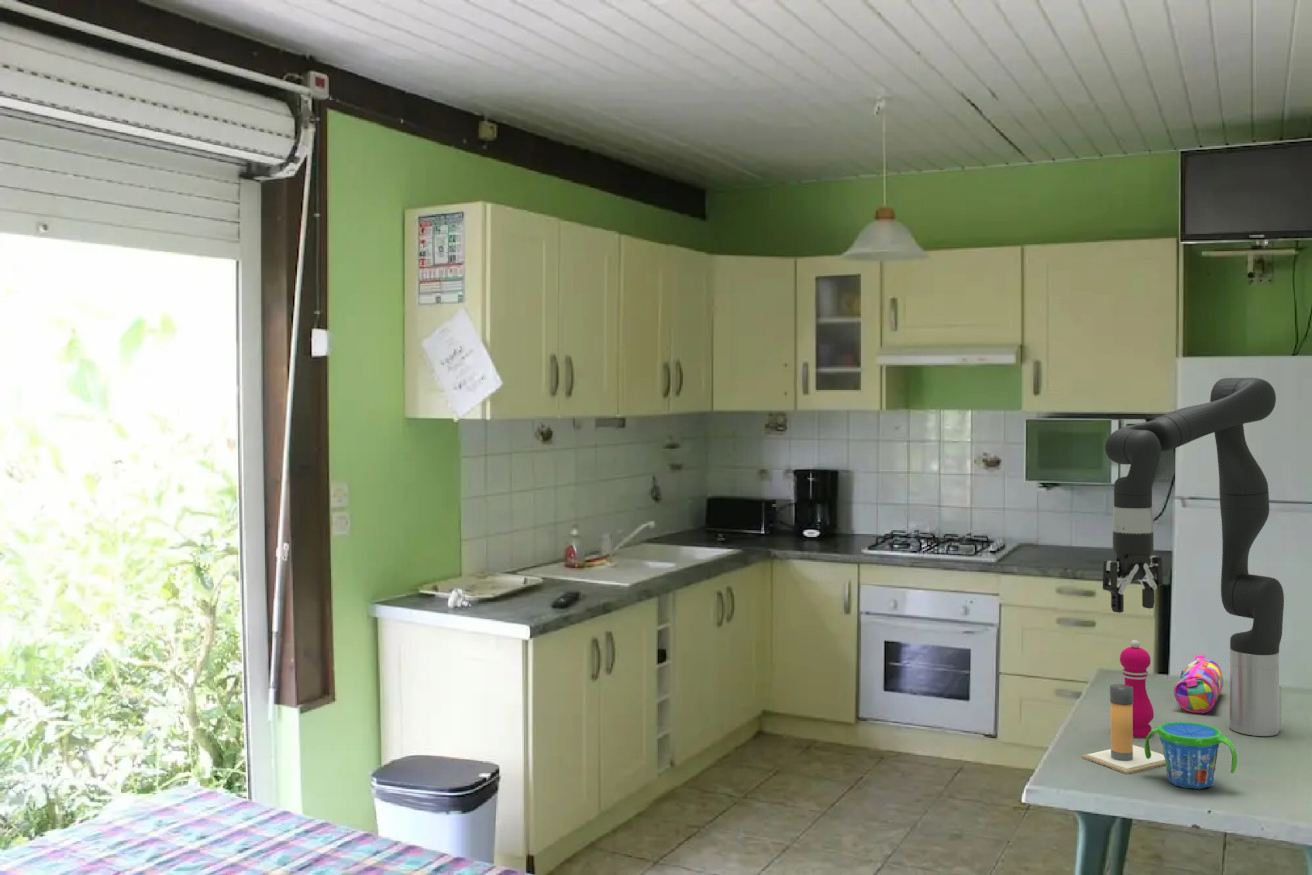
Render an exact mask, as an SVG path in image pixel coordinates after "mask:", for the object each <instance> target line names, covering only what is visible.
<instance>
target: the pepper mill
mask: <svg viewBox="0 0 1312 875" xmlns="http://www.w3.org/2000/svg"><path fill="white" fill-rule="evenodd" d="M1140 645H1141V644H1140V642H1139V641H1138V640H1137V639H1132V640H1131V642H1130V646H1129V647H1126V648H1124V649H1123V650H1122V651H1121V652H1120V656H1119V662H1120V664H1121V666H1122V668H1123V669H1122V670H1121V671H1122V676H1123V677H1124V685H1129V686H1132V687H1133V738H1147V736H1148V734H1149V733H1150V732H1151V731H1152V726H1151V724H1149V723H1151V722H1152V721H1153V719H1154V716H1155V714H1154V708H1153V705H1152V703H1151V700H1150V698H1149V696H1148V693H1147V688H1146V685H1147V684H1146V683H1147V682H1146V680H1147V679H1148V678H1149V676H1148V674H1149V671H1148V670H1147V669H1148V668H1149V667H1150V665H1151V660H1152V659H1151V656H1150V653H1149V652H1148V651H1147V650H1146V649H1144V648H1141V647H1140Z"/></svg>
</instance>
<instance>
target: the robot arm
mask: <svg viewBox="0 0 1312 875" xmlns="http://www.w3.org/2000/svg"><path fill="white" fill-rule="evenodd" d="M1276 396H1277V395H1276V391H1275V389H1274V386H1272V384H1271V383H1269V381H1267V380H1265V379H1262V378H1259V377H1225V378H1220V379H1219V380H1218V381H1216V382H1215V384H1214V385H1213V386H1212V389H1211V391H1210V399H1209V400H1210V401H1209V402H1204V403H1201V404H1195V405H1191V406H1186V407H1183V408H1179V409H1176V410H1173V411H1170V412H1168V413H1165V414H1163V415H1160V416H1158V417H1156V418H1154V419H1151V420H1150V421H1145V422H1140V423H1136V424H1131V425H1128V426H1123V427H1121V428H1118V429H1116V430H1115V431H1114V432H1112V433H1111V434H1110V435H1109V436H1108V437H1107V439H1106V440H1105V441H1106V442H1105V444H1104V451H1105V455H1106V456H1107V458H1108V459H1109V460H1110V461H1112V462H1113V463H1116V464H1118V465H1127V466H1129V465H1130V467H1129V470H1128V473H1127V475H1126V476H1122V477H1118V478H1117V479H1116V480H1115V481H1114V485H1113V513H1112V551H1113V553H1115V555H1116V558H1115V560H1108V559H1105V560H1104V561H1103V569H1102V572H1103V573H1102V590H1103V591H1107V592H1109V593H1110V603H1111V604H1110V608H1111V610H1112V612H1114V613H1118V614H1121V613H1123V612H1124V609H1125V608H1124V605H1125V604H1124V597H1125V596H1124V594H1123V593H1124V591H1125V589H1126V587H1127V586H1130V584H1131V582H1134V581H1136V580H1137V581H1138V582H1140V584H1141V586H1142V587H1143V588H1142V589H1141V590H1142V591H1141V592H1142V594H1141V604H1142V605H1141V606H1142V607H1143V608H1144V609H1145V608H1146V609H1153V608H1154V606H1155V598H1156V597H1155V590H1157V588H1158V587H1159V586H1160V587H1161V586H1163V584H1164V578H1163V577H1164V576H1163V557H1162V556H1158V555H1152V554H1153V553H1154V551H1155V550H1154V547H1155V546H1154V515H1153V514H1154V512H1153V484H1154V482H1155V478H1156V475H1157V470H1158V468H1159V463H1160V460H1161V456H1162V453H1163V452H1169V451H1171V450H1175V449H1177V448H1179V447H1181V446H1184V445H1186V444H1188V443H1190V442H1193V441H1195V440H1199V439H1200V438H1203V437H1205V436H1208V435H1210V434H1214V438H1215V446H1216V452H1217V466H1218V481H1219V482H1218V483H1219V484H1218V486H1219V488H1218V489H1219V490H1218V492H1219V493H1218V494H1219V509H1220V516H1221V517H1220V518H1221V538H1222V541H1221V542H1222V545H1221V546H1222V547H1221V548H1222V551H1221V552H1222V555H1221V556H1222V557H1221V574H1220V575H1221V577H1220V578H1221V579H1220V580H1221V581H1220V596H1221V603H1222V605H1223V608H1224V609H1225V611H1226V612H1227V613H1228V614H1230V615H1231V616H1232V615H1233V616H1237V617H1240V618H1241V617H1242V618H1247V619H1253V621H1252V627H1251V629H1250V630H1248V631H1243V632H1242V631H1241V632H1235V633H1234V634H1232V635H1231V636H1230V637H1229V638H1230V639H1229V728H1230V729H1231V730H1232V731H1233V732H1237V733H1240V734H1243V735H1247V736H1254V737H1255V736H1257V737H1272V736H1277V735H1278V734H1280V731H1282V686H1281V685H1280V644H1281V641H1282V635H1283V621H1284V606H1285V605H1284V604H1285V594H1284V589H1283V585H1282V584H1281V582H1280V581H1279V580H1278V579H1277V578H1274V577H1270V576H1265V575H1257V574H1250V573H1249V554H1250V551H1251V547H1252V545H1253V544H1254V542H1255V540H1256V538H1257V537H1258V536H1259V534H1260V532H1261V531H1262V529H1263V527H1265V524H1266V522H1267V520H1268V518H1269V515H1270V495H1269V494H1270V493H1269V484H1268V480H1267V477H1266V475H1265V474H1264V472H1263V470H1262V468H1261V467H1260V465H1259V464H1258V462H1257V461H1256V459H1255V457H1254V455H1253V454H1252V452H1251V451H1250V449H1249V447H1248V444H1247V441H1246V436H1245V429H1244V424H1245V425H1246V424H1248V423H1254V422H1260V421H1262V420H1265V419H1266V418H1268V417H1269V416H1270V415H1271V414H1272V413H1273V411H1274V409H1275V407H1276V401H1277V397H1276ZM1155 575H1156V578H1155Z"/></svg>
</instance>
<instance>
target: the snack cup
mask: <svg viewBox="0 0 1312 875" xmlns="http://www.w3.org/2000/svg"><path fill="white" fill-rule="evenodd" d="M1155 733H1157V734H1158V736H1159V739H1160V743H1161V745H1162V751H1163V755H1164V757H1165V763H1166V765H1165V769H1166V774H1167V777H1168V780H1169V781H1170V782H1171V783H1172V784H1173V785H1175V786H1178V787H1181V788H1184V789H1196V790H1199V789H1205V788H1206V787H1207V788H1209V787H1212V786H1213V783H1214V779H1215V778H1214V776H1215V771H1216V767H1217V760H1218V751H1219V746H1220V743H1222V744H1224V745H1225V746H1227V747H1228V748H1229V752H1230V754H1231V765H1230V766H1231V768H1230V773H1231V774H1234V773H1235V771H1236V768H1237V766H1238V754H1237V751H1236V748H1235V746H1234V744H1233V743H1232V742H1231V740H1230V739H1229V738H1228V737H1226V736H1224V735H1223V734H1222V731H1221V730H1220V729H1218V728H1217V727H1214V726H1211V725H1208V724H1204V723H1199V722H1191V721H1171V722H1165V723H1162V724H1161V725H1159V726H1157V727H1155V728H1153V729H1151V732H1150V733H1149V734H1148V736H1147V737H1145V740H1144V747H1143V748H1144V749H1145V755H1146V758H1147V759H1149V758H1150V757H1151V752H1150V751H1151V746H1150V739H1151V738H1152V736H1153V735H1154V734H1155Z"/></svg>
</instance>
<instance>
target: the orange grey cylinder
mask: <svg viewBox="0 0 1312 875" xmlns="http://www.w3.org/2000/svg"><path fill="white" fill-rule="evenodd" d="M1109 701H1110V749H1111V757H1112V758H1113V759H1116V760H1122V761H1129V760H1132V759H1133V745H1134V740H1133V739H1134V737H1133V687H1132V686H1129V685H1125V684H1122V683H1121V684H1120V683H1118V684H1117V683H1116V684H1111V685H1109Z"/></svg>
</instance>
